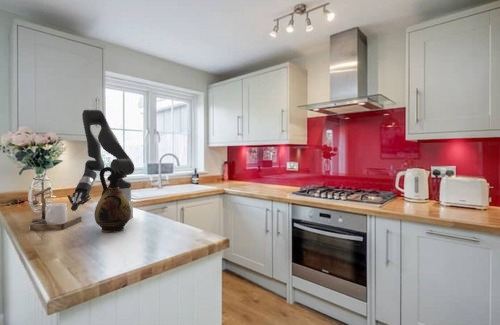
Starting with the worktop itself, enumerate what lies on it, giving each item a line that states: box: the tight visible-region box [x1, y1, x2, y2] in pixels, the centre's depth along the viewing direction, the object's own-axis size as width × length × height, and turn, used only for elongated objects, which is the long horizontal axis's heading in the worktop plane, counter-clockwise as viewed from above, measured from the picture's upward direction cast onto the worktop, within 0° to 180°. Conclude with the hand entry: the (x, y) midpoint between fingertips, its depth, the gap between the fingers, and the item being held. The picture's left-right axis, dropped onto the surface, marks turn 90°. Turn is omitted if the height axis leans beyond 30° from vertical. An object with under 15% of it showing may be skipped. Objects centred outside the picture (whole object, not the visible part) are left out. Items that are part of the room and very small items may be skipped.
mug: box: [45, 202, 68, 224], centre depth 132 cm, size 12×8×10 cm
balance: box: [28, 186, 57, 223], centre depth 143 cm, size 6×16×17 cm, turn 3°
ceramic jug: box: [94, 166, 131, 234], centre depth 124 cm, size 17×15×30 cm
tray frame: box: [29, 216, 82, 231], centre depth 132 cm, size 15×15×2 cm
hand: (73, 210), depth 147 cm, fingers closed
